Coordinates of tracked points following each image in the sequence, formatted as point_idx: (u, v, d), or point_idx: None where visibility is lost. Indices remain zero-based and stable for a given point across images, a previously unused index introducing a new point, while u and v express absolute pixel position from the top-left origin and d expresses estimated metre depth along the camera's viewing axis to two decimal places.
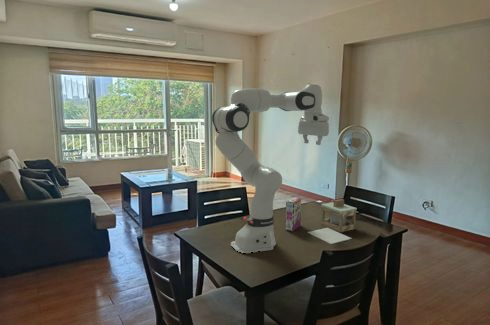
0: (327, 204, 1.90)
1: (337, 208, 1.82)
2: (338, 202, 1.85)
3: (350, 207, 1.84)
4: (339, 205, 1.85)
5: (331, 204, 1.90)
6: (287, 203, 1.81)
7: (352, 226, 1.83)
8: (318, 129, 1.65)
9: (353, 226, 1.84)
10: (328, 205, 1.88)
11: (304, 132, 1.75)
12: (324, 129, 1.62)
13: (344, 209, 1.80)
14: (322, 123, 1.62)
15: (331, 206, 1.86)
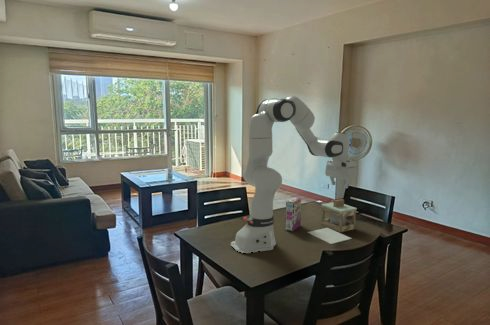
0: (327, 204, 1.90)
1: (337, 208, 1.82)
2: (338, 202, 1.85)
3: (350, 207, 1.84)
4: (339, 205, 1.85)
5: (331, 204, 1.90)
6: (287, 203, 1.81)
7: (352, 226, 1.83)
8: (346, 174, 1.77)
9: (353, 226, 1.84)
10: (328, 205, 1.88)
11: (331, 175, 1.87)
12: (352, 175, 1.74)
13: (344, 209, 1.80)
14: (350, 169, 1.74)
15: (331, 206, 1.86)
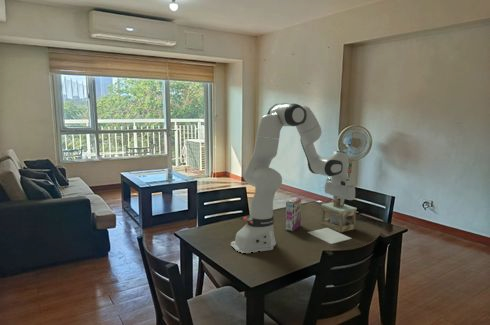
0: (327, 204, 1.90)
1: (337, 208, 1.82)
2: (338, 202, 1.85)
3: (350, 207, 1.84)
4: (339, 205, 1.85)
5: (331, 204, 1.90)
6: (287, 203, 1.81)
7: (352, 226, 1.83)
8: (345, 193, 1.79)
9: (353, 226, 1.84)
10: (328, 205, 1.88)
11: (331, 192, 1.88)
12: (351, 194, 1.76)
13: (344, 209, 1.80)
14: (349, 188, 1.76)
15: (331, 206, 1.86)
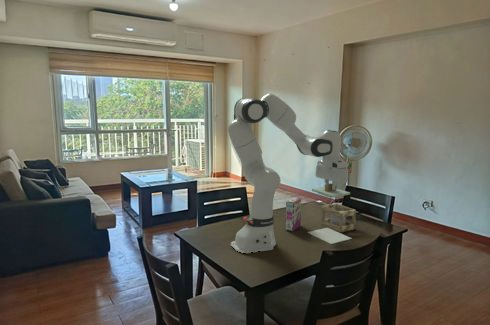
0: (318, 189, 1.75)
1: (329, 192, 1.67)
2: (330, 186, 1.69)
3: (343, 191, 1.69)
4: (331, 189, 1.70)
5: (322, 189, 1.75)
6: (287, 203, 1.81)
7: (352, 226, 1.83)
8: (337, 176, 1.63)
9: (353, 226, 1.84)
10: (319, 190, 1.73)
11: (322, 176, 1.73)
12: (343, 176, 1.61)
13: (337, 193, 1.65)
14: (342, 170, 1.61)
15: (322, 191, 1.71)
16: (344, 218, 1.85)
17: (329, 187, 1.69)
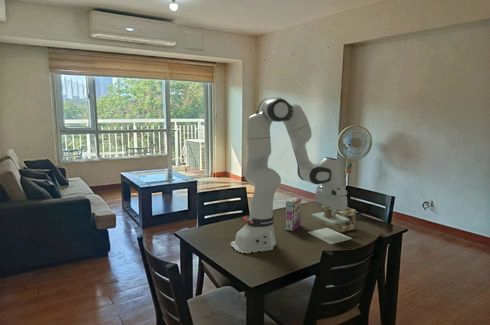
0: (318, 214, 1.77)
1: (328, 219, 1.69)
2: (329, 212, 1.71)
3: (342, 218, 1.71)
4: (330, 215, 1.72)
5: (322, 214, 1.77)
6: (287, 203, 1.81)
7: (352, 226, 1.83)
8: (336, 203, 1.65)
9: (353, 226, 1.84)
10: (319, 215, 1.75)
11: (321, 202, 1.75)
12: (342, 204, 1.63)
13: (336, 220, 1.67)
14: (341, 198, 1.63)
15: (322, 217, 1.73)
16: None
17: (328, 213, 1.71)
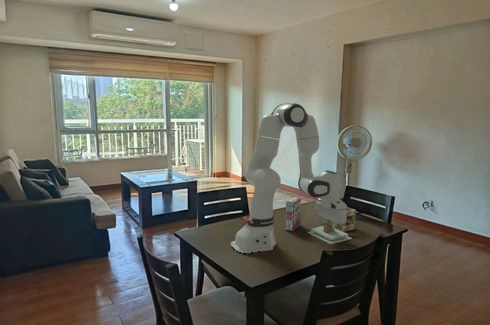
0: (317, 229, 1.78)
1: (327, 234, 1.70)
2: (328, 227, 1.73)
3: (341, 233, 1.72)
4: (329, 230, 1.73)
5: (321, 229, 1.78)
6: (287, 203, 1.81)
7: (352, 226, 1.83)
8: (336, 216, 1.66)
9: (353, 226, 1.84)
10: (318, 230, 1.76)
11: (321, 215, 1.76)
12: (342, 217, 1.64)
13: (335, 235, 1.68)
14: (340, 212, 1.64)
15: (321, 231, 1.74)
16: None
17: (328, 228, 1.72)
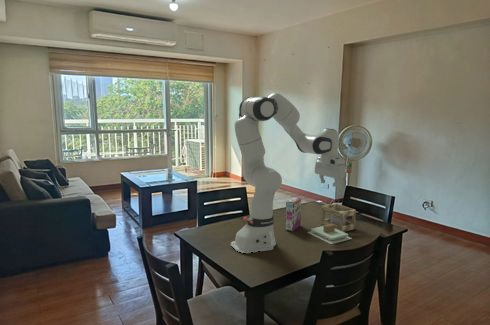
0: (317, 229, 1.78)
1: (327, 234, 1.70)
2: (328, 227, 1.73)
3: (341, 233, 1.72)
4: (329, 230, 1.73)
5: (321, 229, 1.78)
6: (287, 203, 1.81)
7: (352, 226, 1.83)
8: (335, 172, 1.71)
9: (353, 226, 1.84)
10: (318, 230, 1.76)
11: (321, 173, 1.81)
12: (340, 172, 1.68)
13: (335, 235, 1.68)
14: (339, 167, 1.68)
15: (321, 231, 1.74)
16: (344, 218, 1.85)
17: (328, 228, 1.72)
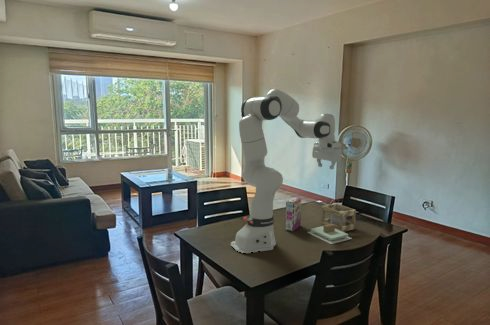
0: (317, 229, 1.78)
1: (327, 234, 1.70)
2: (328, 227, 1.73)
3: (341, 233, 1.72)
4: (329, 230, 1.73)
5: (321, 229, 1.78)
6: (287, 203, 1.81)
7: (352, 226, 1.83)
8: (332, 155, 1.80)
9: (353, 226, 1.84)
10: (318, 230, 1.76)
11: (318, 156, 1.89)
12: (337, 155, 1.77)
13: (335, 235, 1.68)
14: (336, 150, 1.77)
15: (321, 231, 1.74)
16: (344, 218, 1.85)
17: (328, 228, 1.72)
